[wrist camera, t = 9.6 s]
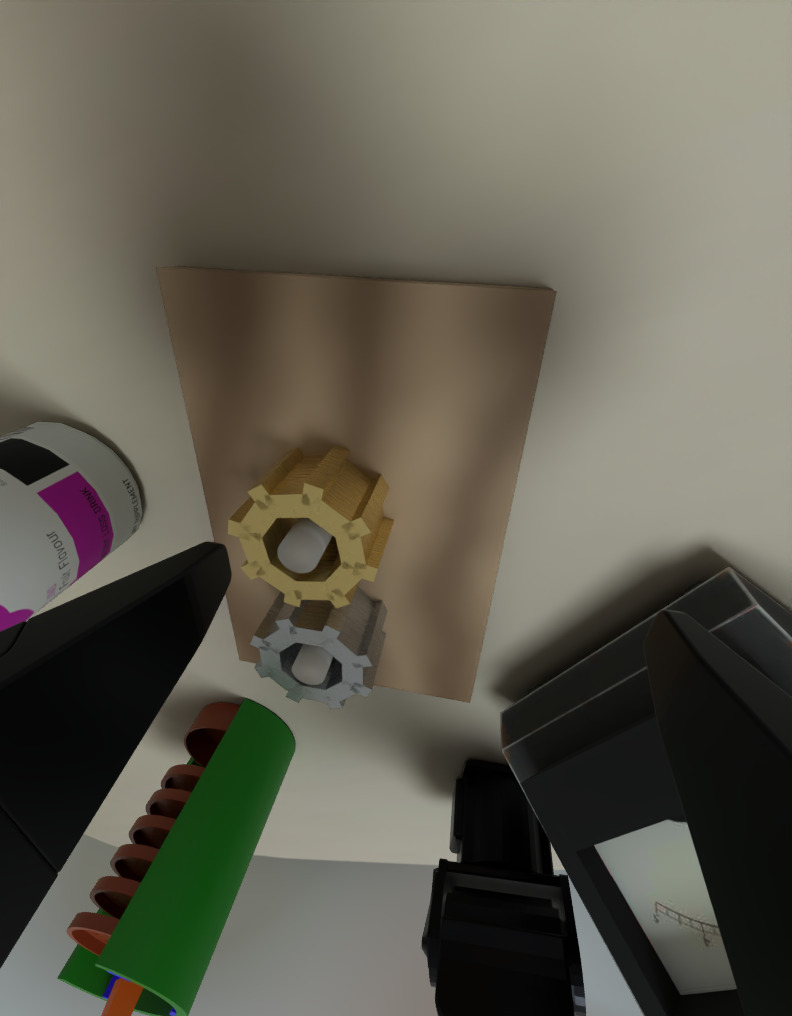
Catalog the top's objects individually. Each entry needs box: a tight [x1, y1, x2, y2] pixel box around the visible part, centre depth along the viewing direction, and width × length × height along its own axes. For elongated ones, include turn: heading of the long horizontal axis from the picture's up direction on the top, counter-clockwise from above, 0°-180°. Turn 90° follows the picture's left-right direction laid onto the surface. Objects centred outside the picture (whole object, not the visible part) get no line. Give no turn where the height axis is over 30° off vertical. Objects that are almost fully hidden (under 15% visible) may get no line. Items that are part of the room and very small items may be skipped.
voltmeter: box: [500, 567, 792, 1016], centre depth 18 cm, size 16×16×20 cm
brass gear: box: [228, 445, 394, 608], centre depth 21 cm, size 7×7×4 cm
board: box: [156, 267, 556, 703], centre depth 22 cm, size 16×24×6 cm, turn 178°
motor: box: [58, 698, 295, 1016], centre depth 30 cm, size 10×9×20 cm
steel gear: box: [250, 581, 387, 709], centre depth 24 cm, size 7×7×4 cm
